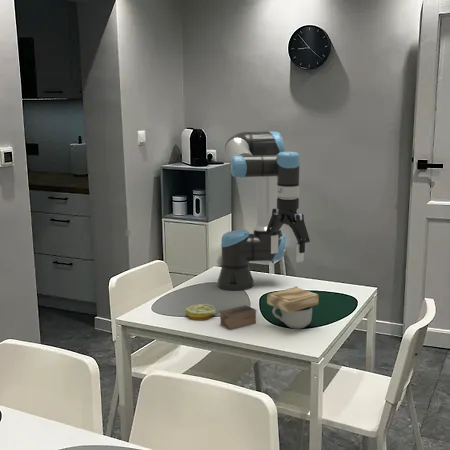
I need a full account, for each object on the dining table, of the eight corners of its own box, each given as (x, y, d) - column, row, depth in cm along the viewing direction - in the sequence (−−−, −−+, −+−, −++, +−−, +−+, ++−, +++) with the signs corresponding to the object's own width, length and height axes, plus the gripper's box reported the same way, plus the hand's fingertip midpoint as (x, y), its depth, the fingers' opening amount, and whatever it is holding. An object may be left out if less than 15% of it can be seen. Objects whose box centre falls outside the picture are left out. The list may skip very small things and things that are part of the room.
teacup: (311, 320, 218) (311, 299, 216) (313, 331, 207) (313, 309, 205) (272, 319, 219) (272, 298, 217) (272, 331, 208) (272, 308, 207)
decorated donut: (221, 317, 222) (221, 307, 222) (196, 323, 216) (195, 313, 216) (205, 309, 231) (205, 300, 230) (181, 315, 225) (181, 305, 224)
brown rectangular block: (219, 324, 214) (219, 311, 213) (245, 318, 221) (245, 304, 220) (230, 330, 209) (230, 316, 208) (256, 323, 215) (256, 309, 214)
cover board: (267, 303, 212) (267, 293, 211) (295, 296, 220) (295, 286, 219) (289, 312, 203) (289, 301, 202) (318, 304, 211) (318, 293, 210)
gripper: (256, 193, 216) (256, 251, 221) (304, 204, 197) (302, 267, 201) (273, 191, 221) (272, 248, 225) (321, 201, 201) (319, 263, 205)
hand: (286, 257), depth 213 cm, fingers open, 13 cm apart
